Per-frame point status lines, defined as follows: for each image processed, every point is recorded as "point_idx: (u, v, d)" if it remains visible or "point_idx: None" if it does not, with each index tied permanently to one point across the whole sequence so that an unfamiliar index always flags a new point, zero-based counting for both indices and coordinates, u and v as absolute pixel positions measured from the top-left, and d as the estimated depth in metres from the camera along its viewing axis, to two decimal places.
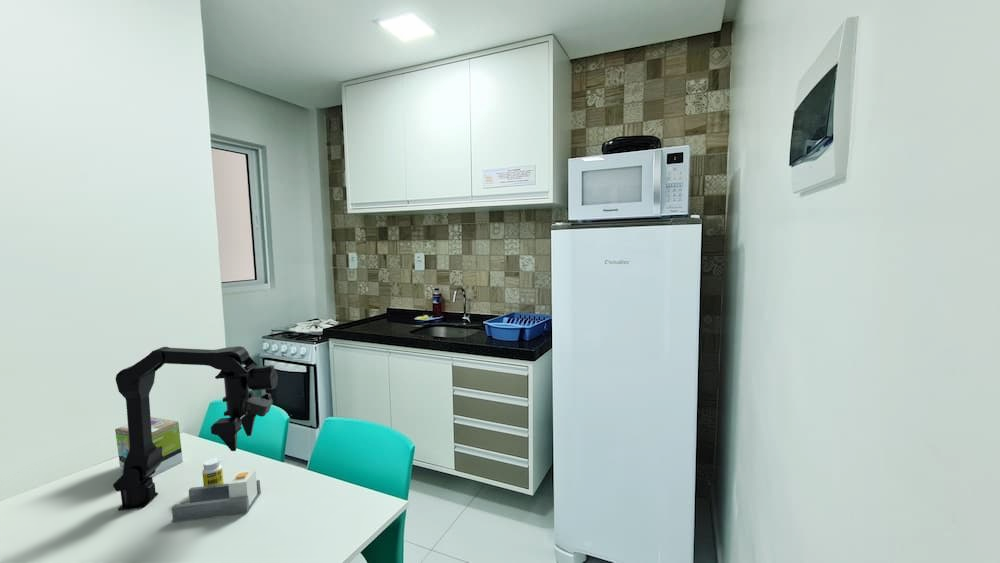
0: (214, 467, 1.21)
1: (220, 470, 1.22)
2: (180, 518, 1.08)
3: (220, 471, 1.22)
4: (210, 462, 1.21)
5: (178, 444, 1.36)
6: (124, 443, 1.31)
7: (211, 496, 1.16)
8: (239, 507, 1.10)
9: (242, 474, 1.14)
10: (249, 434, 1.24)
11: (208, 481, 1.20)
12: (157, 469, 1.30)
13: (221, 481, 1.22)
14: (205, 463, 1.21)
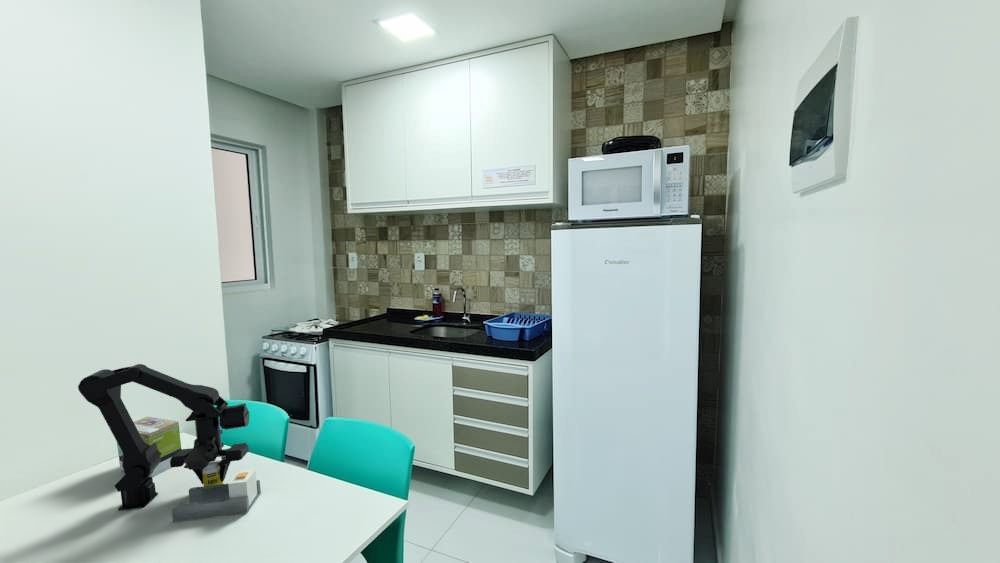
0: (214, 467, 1.21)
1: None
2: (180, 518, 1.08)
3: None
4: (210, 462, 1.21)
5: (178, 444, 1.36)
6: None
7: (211, 496, 1.16)
8: (239, 507, 1.10)
9: (242, 474, 1.14)
10: None
11: (208, 481, 1.20)
12: (157, 469, 1.30)
13: None
14: None
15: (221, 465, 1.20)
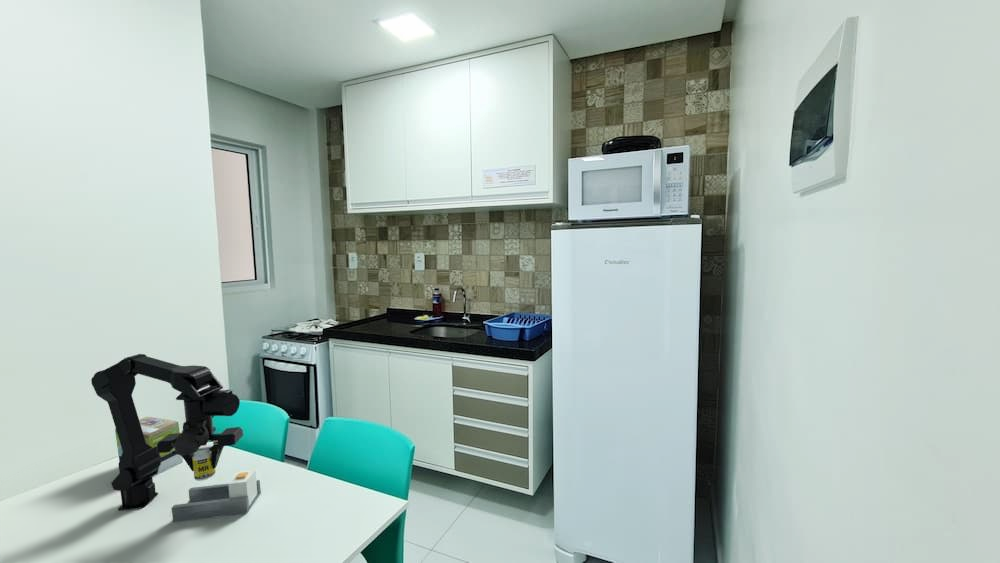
0: (205, 453, 1.11)
1: None
2: (180, 518, 1.08)
3: None
4: (201, 448, 1.11)
5: None
6: None
7: (211, 496, 1.16)
8: (239, 507, 1.10)
9: (242, 474, 1.14)
10: None
11: (199, 468, 1.10)
12: None
13: None
14: None
15: (213, 450, 1.10)
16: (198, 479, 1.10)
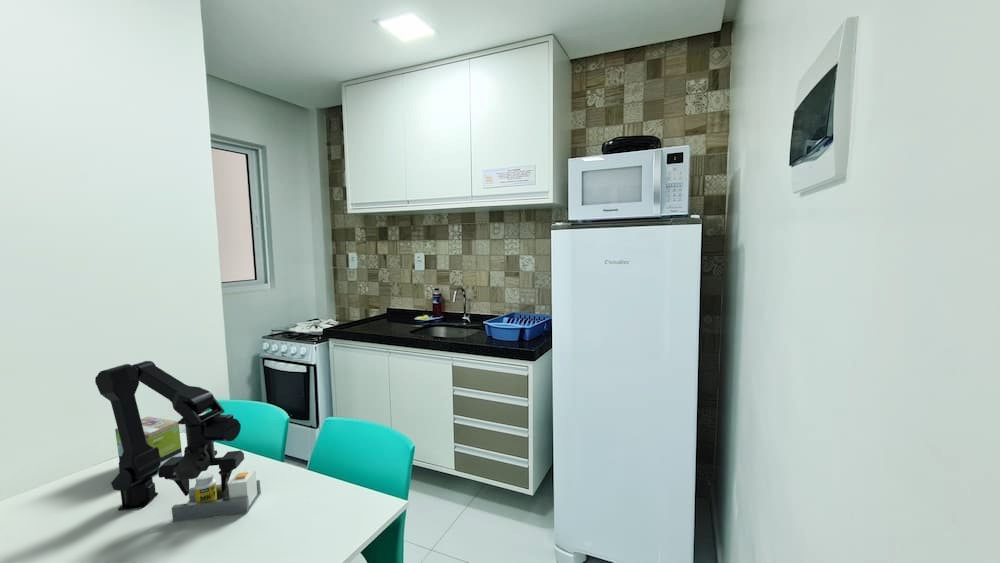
0: (207, 482, 1.11)
1: (214, 485, 1.13)
2: (180, 518, 1.08)
3: (214, 486, 1.13)
4: (204, 477, 1.11)
5: (178, 444, 1.36)
6: None
7: None
8: (239, 507, 1.10)
9: (242, 474, 1.14)
10: None
11: (201, 497, 1.10)
12: None
13: (215, 497, 1.13)
14: (198, 477, 1.11)
15: (222, 474, 1.11)
16: None
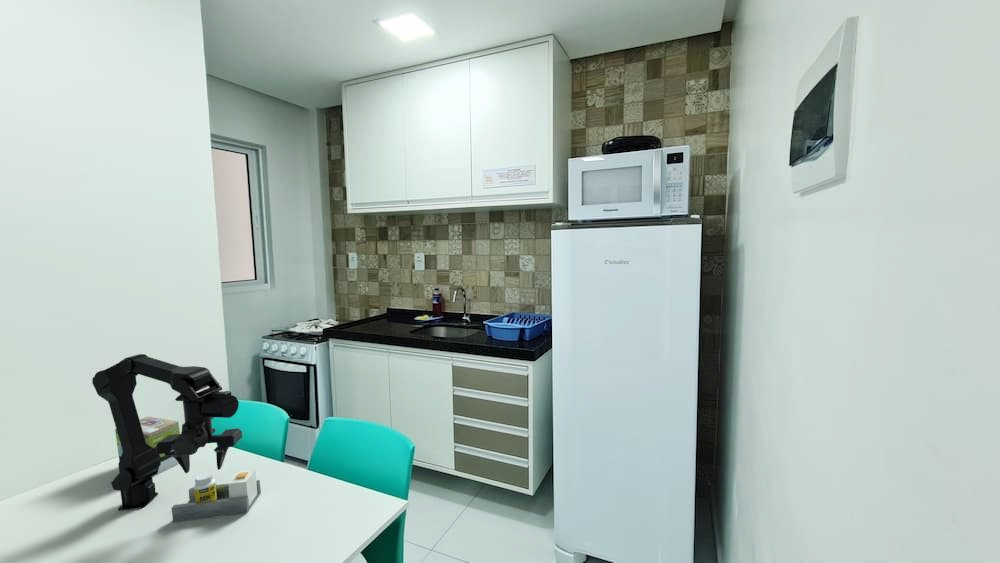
0: (207, 482, 1.11)
1: (213, 485, 1.13)
2: (180, 518, 1.08)
3: (213, 486, 1.12)
4: (203, 477, 1.11)
5: None
6: None
7: None
8: (239, 507, 1.10)
9: (242, 474, 1.14)
10: None
11: (200, 497, 1.10)
12: None
13: (214, 497, 1.13)
14: (197, 478, 1.11)
15: (218, 451, 1.10)
16: None
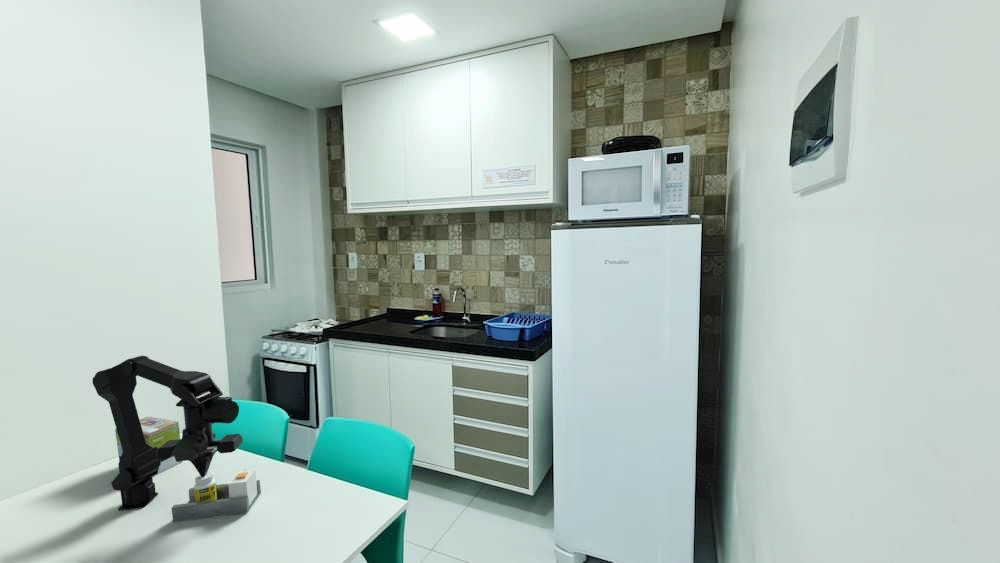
0: (207, 482, 1.11)
1: (213, 485, 1.13)
2: (180, 518, 1.08)
3: (213, 486, 1.13)
4: (203, 477, 1.11)
5: None
6: None
7: None
8: (239, 507, 1.10)
9: (242, 474, 1.14)
10: None
11: (201, 497, 1.10)
12: None
13: (214, 497, 1.13)
14: (197, 477, 1.11)
15: (202, 458, 1.10)
16: None
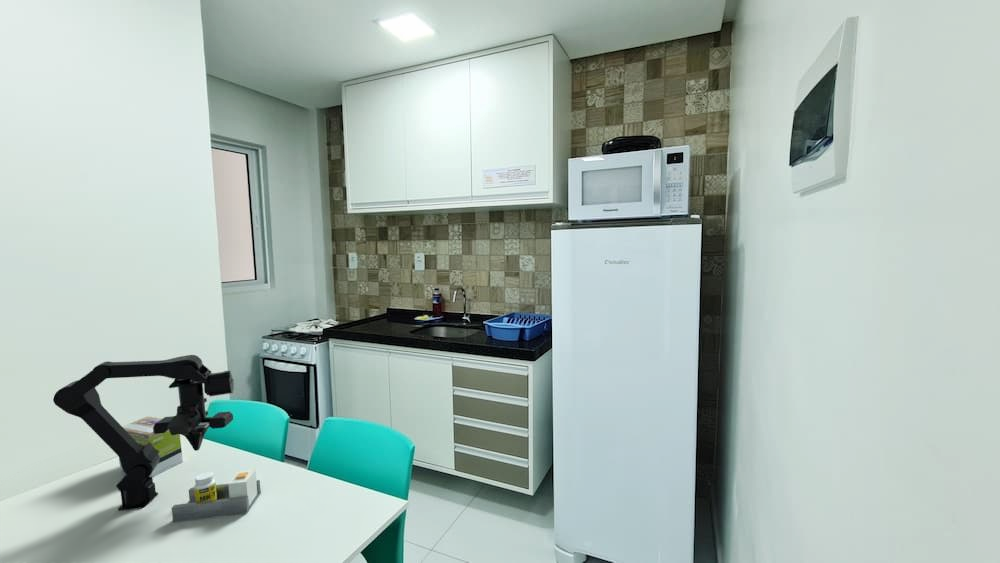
0: (207, 482, 1.11)
1: (213, 485, 1.13)
2: (180, 518, 1.08)
3: (213, 486, 1.13)
4: (203, 477, 1.11)
5: (178, 444, 1.36)
6: None
7: None
8: (239, 507, 1.10)
9: (242, 474, 1.14)
10: None
11: (201, 497, 1.10)
12: (157, 469, 1.30)
13: (214, 497, 1.13)
14: (197, 477, 1.11)
15: (196, 433, 1.19)
16: None
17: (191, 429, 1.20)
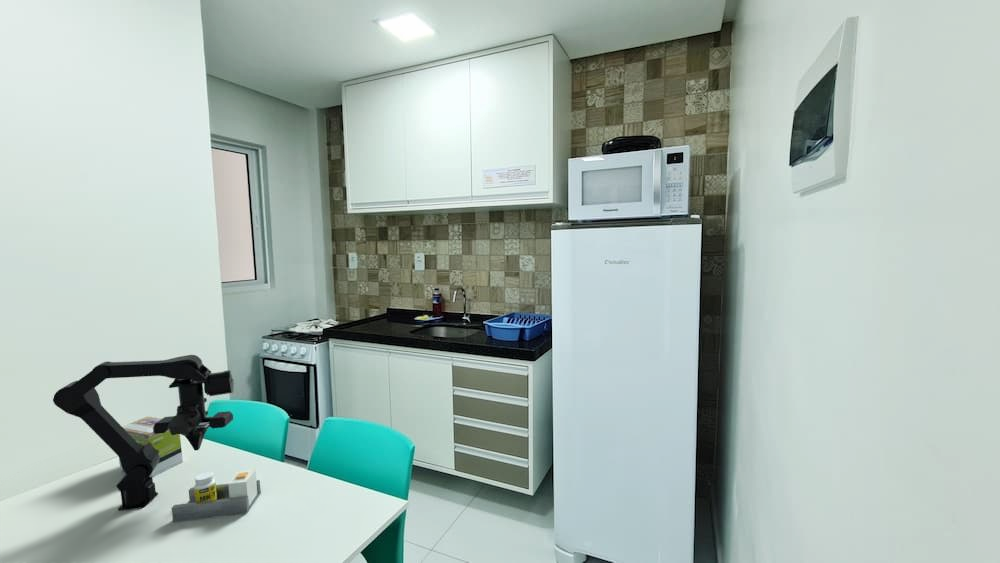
0: (207, 482, 1.11)
1: (213, 485, 1.13)
2: (180, 518, 1.08)
3: (213, 486, 1.13)
4: (203, 477, 1.11)
5: (178, 444, 1.36)
6: None
7: None
8: (239, 507, 1.10)
9: (242, 474, 1.14)
10: None
11: (201, 497, 1.10)
12: (157, 469, 1.30)
13: (214, 497, 1.13)
14: (197, 477, 1.11)
15: (196, 433, 1.19)
16: None
17: (191, 429, 1.20)
